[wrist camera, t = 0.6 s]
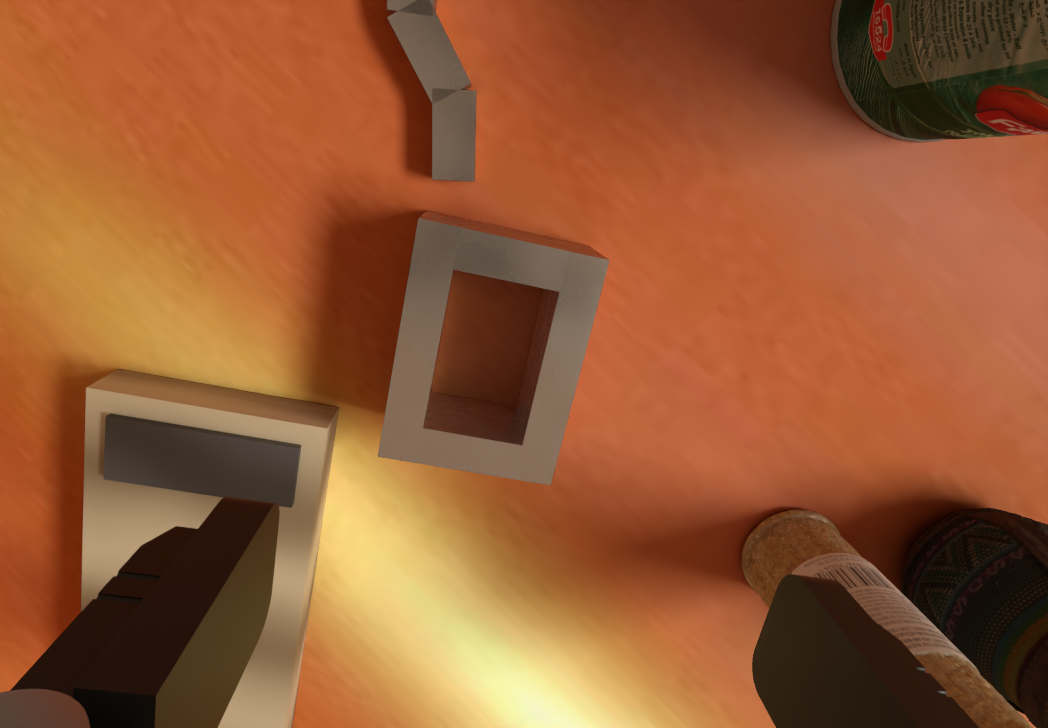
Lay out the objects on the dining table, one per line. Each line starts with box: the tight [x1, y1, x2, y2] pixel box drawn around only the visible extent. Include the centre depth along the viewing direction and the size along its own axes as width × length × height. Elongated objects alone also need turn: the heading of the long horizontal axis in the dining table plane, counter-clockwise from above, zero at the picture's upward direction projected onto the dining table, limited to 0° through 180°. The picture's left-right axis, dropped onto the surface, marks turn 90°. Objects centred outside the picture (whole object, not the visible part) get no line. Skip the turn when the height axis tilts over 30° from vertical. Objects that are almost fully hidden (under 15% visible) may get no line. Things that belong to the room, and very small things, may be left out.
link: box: [378, 210, 609, 485], centre depth 22 cm, size 8×6×4 cm
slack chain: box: [387, 0, 476, 181], centre depth 20 cm, size 11×2×1 cm, turn 11°
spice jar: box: [742, 509, 1033, 728], centre depth 21 cm, size 5×5×13 cm
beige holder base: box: [81, 369, 339, 728], centre depth 22 cm, size 18×8×8 cm, turn 167°
